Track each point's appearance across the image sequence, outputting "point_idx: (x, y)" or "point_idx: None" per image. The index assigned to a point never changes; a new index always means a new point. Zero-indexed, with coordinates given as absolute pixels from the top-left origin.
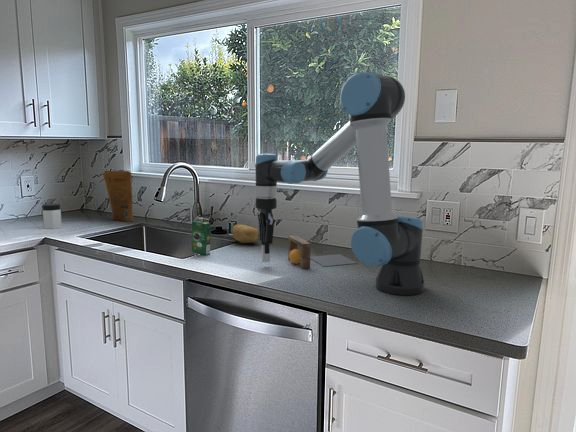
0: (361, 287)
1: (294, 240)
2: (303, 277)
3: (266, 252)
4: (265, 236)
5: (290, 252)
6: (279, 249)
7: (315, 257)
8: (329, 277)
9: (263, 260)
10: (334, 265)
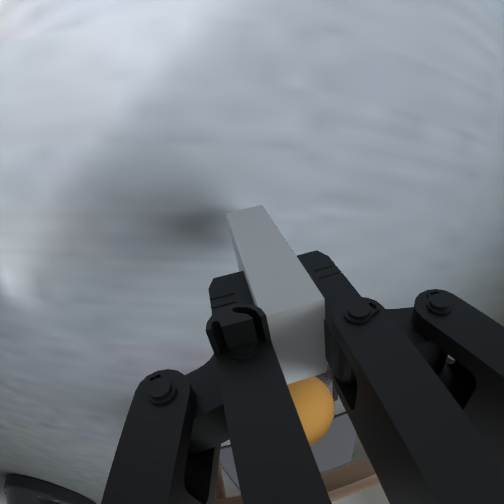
0: (19, 462)
1: (330, 483)
2: (43, 385)
3: (212, 296)
4: (162, 493)
5: (302, 410)
6: (499, 298)
7: (343, 425)
8: (74, 443)
9: (229, 224)
10: (223, 466)
